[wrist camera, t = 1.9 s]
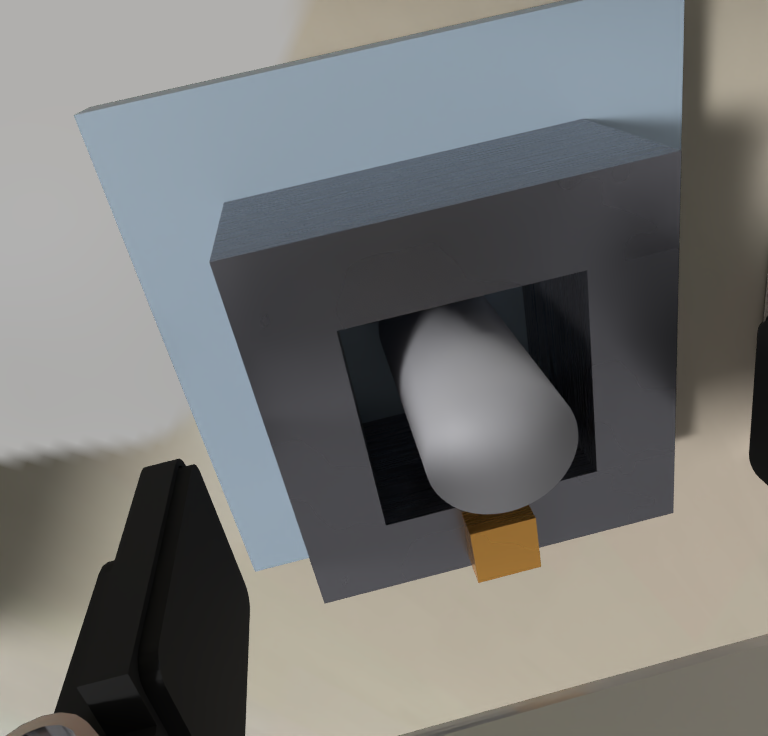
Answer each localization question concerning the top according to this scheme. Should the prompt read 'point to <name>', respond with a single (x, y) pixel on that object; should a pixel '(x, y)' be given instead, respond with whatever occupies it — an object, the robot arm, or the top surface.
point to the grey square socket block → (448, 285)
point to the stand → (359, 152)
